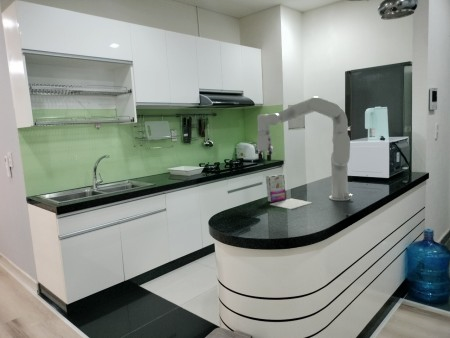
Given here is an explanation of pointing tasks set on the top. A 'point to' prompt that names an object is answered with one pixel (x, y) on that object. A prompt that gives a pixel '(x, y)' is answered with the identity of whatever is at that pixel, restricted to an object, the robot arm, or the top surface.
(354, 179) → the top surface
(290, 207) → the mat
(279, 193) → the candy bar box
